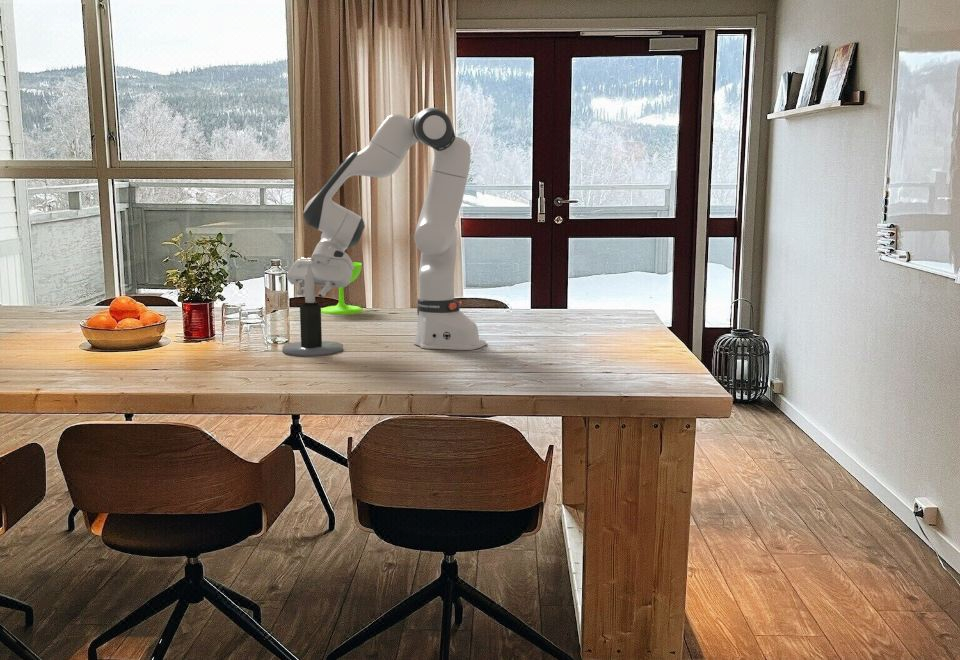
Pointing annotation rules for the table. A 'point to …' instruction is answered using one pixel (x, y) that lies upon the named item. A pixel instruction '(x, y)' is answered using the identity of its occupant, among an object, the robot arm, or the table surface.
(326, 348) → the slate plate
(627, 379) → the table surface
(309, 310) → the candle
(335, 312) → the wineglass
